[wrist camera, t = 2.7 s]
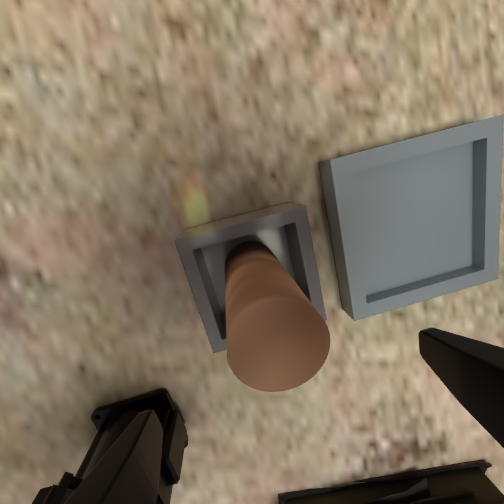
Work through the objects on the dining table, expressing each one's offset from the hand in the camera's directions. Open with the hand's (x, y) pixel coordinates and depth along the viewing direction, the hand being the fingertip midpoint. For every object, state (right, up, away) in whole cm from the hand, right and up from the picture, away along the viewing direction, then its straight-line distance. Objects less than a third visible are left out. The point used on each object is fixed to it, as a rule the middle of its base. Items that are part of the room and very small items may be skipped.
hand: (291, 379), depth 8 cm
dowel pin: (-1, +3, +11) cm, 11 cm away
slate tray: (+11, +7, +12) cm, 18 cm away
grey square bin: (-1, +3, +11) cm, 12 cm away
